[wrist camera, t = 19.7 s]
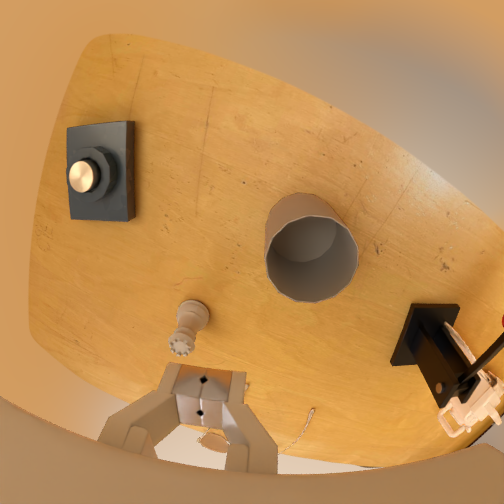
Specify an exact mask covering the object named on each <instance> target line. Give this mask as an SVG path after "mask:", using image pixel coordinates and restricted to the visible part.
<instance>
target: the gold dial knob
mask: <svg viewBox="0 0 504 504" xmlns="http://www.w3.org/2000/svg"><path fill="white" fill-rule="evenodd" d="M100 177H101V173H100V168H99V166H98V165H97V163H96V162H94V161H93V160H83V161H78V162H76V163H75V164H74V165H73V166H72V167H71V169H70V173H69V180H70V184H71V186H72V187H73V189H74V190H76V191H78V192H86V191H89V190H91V189H94V188H95V187H96V186H97V185H98V183H99V181H100Z"/></svg>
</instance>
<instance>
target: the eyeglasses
mask: <svg viewBox="0 0 504 504" xmlns="http://www.w3.org/2000/svg"><path fill="white" fill-rule="evenodd" d="M248 387H249V385H248V384H246V385H245V391H246V390H247V388H248ZM313 413H314V409H311V411H310V412H309V417H308V421H307V423H306V426H305V428H304V430H303V432H302V433H301V435H300V436H299V437H298V439H299V438H300V437H301V436H302V434H303V433H304V431H305V429H306V428H307V426H308V424H309V422H310V419H311V418H312V415H313ZM209 429H210V428H209ZM209 429H208V430H209ZM208 430H207V431H208ZM207 431H206V432H207ZM206 432H205V433H206ZM205 433H204V434H205ZM204 434H203V435H204ZM203 435H202V436H203ZM298 439H297V440H296V441H295V442H297V441H298ZM200 440H201V441H200ZM197 442H198V443H201V445H202V446H203V447H205V448H208V449H210V450H213V451H216V452H220V453H226V452H228V446H229V444H227V442H226V440H225V439H224V438H223V437H221V436H219V435H216V434H213V433H208V434H206V435H205V436H204V437H203V438H202V439H201V438H200V437H199V438H198V439H197ZM295 442H294V443H295ZM294 443H293V444H294ZM293 444H292V445H293ZM290 446H291V445H290ZM290 446H289V447H290ZM289 447H288V448H289ZM286 449H287V448H286ZM286 449H285V450H286ZM285 450H284V451H285ZM282 452H283V451H282ZM282 452H281V453H282ZM279 454H280V453H279ZM279 454H278V455H279Z"/></svg>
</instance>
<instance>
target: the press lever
mask: <svg viewBox="0 0 504 504" xmlns="http://www.w3.org/2000/svg"><path fill="white" fill-rule="evenodd" d="M502 325H503V327H504V315H503V318H502ZM503 347H504V332H503V333H502V334H501V336H500V337H499V338H498V339H497V340H496V341H495V342H494V343H493V344H492V345H491V346H490V347H489V348H488V349H487V350H486V351H485V352H484V353H483V354H482V355H481V356H480V357H479V358H478V359H477V360H476V361H475V362H474V363H473V364H472V365H471V366H470V367H469V368H468V369H467V370H466V371H465V372H462V373H455V374H454V375H455V377H456V378H457V380H458V382H459V383H460V385H459V386H458V388H457V389H456V391H455V393H454V394H453V396H452V397H457V396H459V395H460V394H461V393H463V392H464V391H465V390H466V389H468V388H469V385H468V380H469V379H471V378H472V377H473V376H474V375H475V374H476V373H477V372H478V371H480V370H481V369H482V368H483V367H484V366H485V365H486V364H487V363H488V362H489V361H490V360H491V359H492V358H493V357H494V356H495V355H496V354H497V353H498V352H499V351H500V350H501V349H502V348H503ZM452 397H451V398H452Z"/></svg>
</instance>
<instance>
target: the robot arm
mask: <svg viewBox="0 0 504 504" xmlns="http://www.w3.org/2000/svg"><path fill="white" fill-rule="evenodd" d="M245 384H246V372H240V371H230V370H220V369H211V368H203V367H197V366H191V365H185V364H178V363H173V362H169V363H168V365H167V367H166V369H165V372H164V374H163V377H162V379H161V382H160V384H159V387H158V389H157V391H154V390H153V391H151V392H150V393H148V394H147V395H145V396H143V397H142V398H140V399H138V400H137V401H135V402H134V403H132V404H130V405H129V406H127V407H125V408H124V409H122V410H120V411H119V412H117V413H115V414H113V415H112V416H110V417H109V418H108V420H107V422H106V424H105V426H104V428H103V430H102V432H101V434H100V436H99V439H98V440H97V441H95V440H92V439H89V438H87V437H84V436H82V435H79V434H76V433H74V432H71V431H69V430H66V429H64V428H62V427H59V426H57V425H55V424H53V423H51V422H48V421H46V420H44V419H42V418H40V417H38V416H36V415H34V414H31V413H29V412H28V411H26V410H24V409H22V408H20V407H18V406H16V405H15V404H12V403H11V402H9V401H7V400H6V399H4V398H2V397H1V396H0V504H504V454H503V453H502V452H500V451H499V450H497V449H496V448H494V447H493V446H491V445H489V444H486V443H483V444H478V445H475V446H472V447H469V448H466V449H462V450H459V451H456V452H453V453H449V454H446V455H442V456H438V457H434V458H430V459H426V460H422V461H417V462H413V463H408V464H403V465H397V466H391V467H385V468H379V469H372V470H363V471H354V472H343V473H329V474H291V475H290V474H277V464H278V463H277V462H278V461H277V459H278V446H277V445H276V443H275V442H274V441H273V439H272V438H271V437H270V435H269V434H268V433H267V431H266V430H265V428H264V427H263V426H262V424H261V423H260V422H259V420H258V419H257V417H256V416H255V415H254V413H253V412H252V410H251V409H250V408H249V406H248V405H247V404H244V395H245ZM180 423H181V424H188V425H195V426H202V427H208V428H214V429H221V430H223V432H224V434H225V435H226V437H227V439H228V441H229V443H230V445H229V446H228V452H227V459H226V464H225V470H218V469H210V468H203V467H197V466H191V465H185V464H180V463H175V462H170V461H166V460H161V459H158V458H157V455H156V452H155V450H154V446H156V445H157V444H158V443H159V442H160V441H161V440H163V439H164V438H165V437H166V436H167V435H168V434H170V433H171V432H172V431H173V430H174V429H175V428H176V427H177V426H179V425H180Z"/></svg>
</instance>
